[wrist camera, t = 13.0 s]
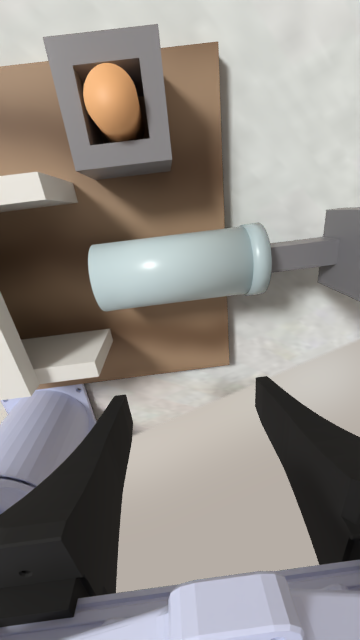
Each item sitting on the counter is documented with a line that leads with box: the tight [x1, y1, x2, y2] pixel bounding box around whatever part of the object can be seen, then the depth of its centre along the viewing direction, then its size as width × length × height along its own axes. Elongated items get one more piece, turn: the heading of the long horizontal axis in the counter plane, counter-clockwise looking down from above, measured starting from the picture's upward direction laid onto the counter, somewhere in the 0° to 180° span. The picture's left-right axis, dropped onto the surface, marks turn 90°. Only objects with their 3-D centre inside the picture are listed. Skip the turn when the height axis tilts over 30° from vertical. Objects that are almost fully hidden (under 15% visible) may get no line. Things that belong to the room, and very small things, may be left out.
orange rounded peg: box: [83, 63, 144, 143], centre depth 13 cm, size 2×2×4 cm
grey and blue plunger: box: [88, 207, 360, 311], centre depth 15 cm, size 5×17×7 cm, turn 96°
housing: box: [0, 24, 172, 400], centre depth 15 cm, size 17×16×6 cm
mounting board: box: [0, 42, 229, 390], centre depth 19 cm, size 22×22×1 cm
